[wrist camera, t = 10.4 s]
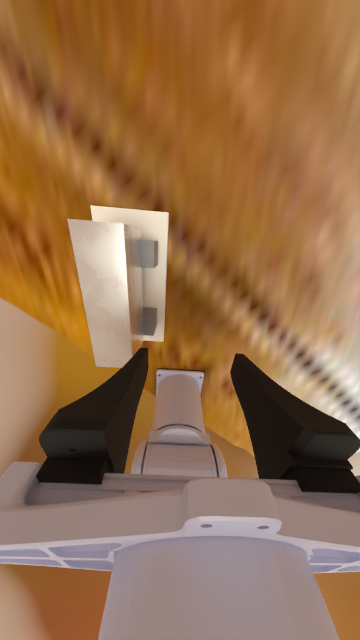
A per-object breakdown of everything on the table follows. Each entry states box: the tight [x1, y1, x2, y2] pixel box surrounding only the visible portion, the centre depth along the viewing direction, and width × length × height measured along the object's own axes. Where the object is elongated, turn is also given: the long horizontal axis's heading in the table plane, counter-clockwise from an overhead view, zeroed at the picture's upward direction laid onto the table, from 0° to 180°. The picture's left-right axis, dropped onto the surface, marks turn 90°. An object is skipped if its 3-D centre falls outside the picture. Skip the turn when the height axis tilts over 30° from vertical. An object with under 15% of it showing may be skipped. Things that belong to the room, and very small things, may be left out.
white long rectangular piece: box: [68, 219, 144, 368], centre depth 15 cm, size 12×4×5 cm, turn 176°
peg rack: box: [90, 205, 169, 342], centre depth 19 cm, size 16×8×4 cm, turn 175°
